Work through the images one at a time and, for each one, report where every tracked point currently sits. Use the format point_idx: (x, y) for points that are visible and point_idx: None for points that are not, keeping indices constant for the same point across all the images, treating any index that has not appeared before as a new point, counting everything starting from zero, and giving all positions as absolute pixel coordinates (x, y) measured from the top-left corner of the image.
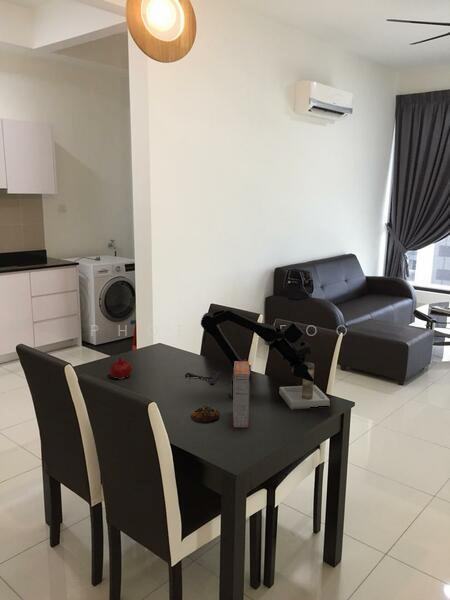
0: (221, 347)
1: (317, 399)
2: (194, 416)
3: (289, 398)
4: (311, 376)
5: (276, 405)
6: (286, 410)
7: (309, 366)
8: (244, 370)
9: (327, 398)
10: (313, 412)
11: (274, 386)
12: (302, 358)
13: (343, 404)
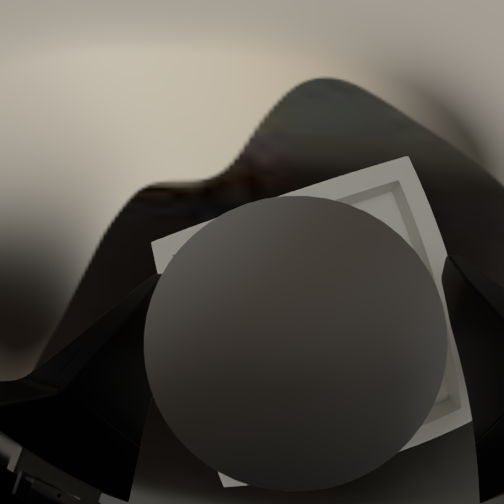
0: None
1: (424, 240)
2: None
3: (425, 437)
4: (501, 287)
5: (408, 479)
6: (471, 424)
7: (442, 344)
8: None
9: (390, 168)
10: (487, 274)
11: (139, 465)
12: (22, 440)
13: (341, 100)
